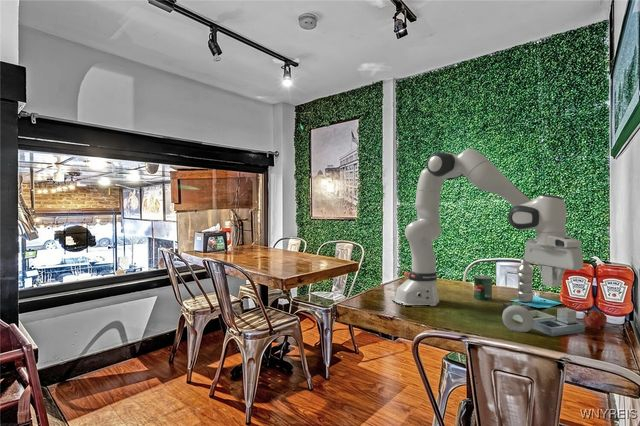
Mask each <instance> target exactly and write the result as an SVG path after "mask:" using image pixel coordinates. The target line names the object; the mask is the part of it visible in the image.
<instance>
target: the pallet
mask: <svg viewBox="0 0 640 426" xmlns="http://www.w3.org/2000/svg"><path fill="white" fill-rule="evenodd" d="M532 329H533V330H535V331H539V332H541V333H543V334H546V335H547V336H551V337H557V336H563V335H570V334H578V333H586V331H585V330H586V325H585V323H582V322H578V321H576V324H573V325H566V324H563V323H560V322H557V318H556V319H549V320H541V321H534V324H533V327H532Z"/></svg>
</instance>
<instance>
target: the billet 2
mask: <svg viewBox="0 0 640 426" xmlns="http://www.w3.org/2000/svg"><path fill="white" fill-rule="evenodd" d="M556 309H557V310H556V311H557V312H556V319H557V322H560V323H563V324H566V325H573V324H576V322H577V310H575V309H571V308H569V307H558V308H556Z"/></svg>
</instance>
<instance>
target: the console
mask: <svg viewBox="0 0 640 426" xmlns="http://www.w3.org/2000/svg"><path fill="white" fill-rule="evenodd" d="M513 302H514V301H512V302H511V301H510V302H504V303H502V311H504V310H505V309H506V308H507V307H509V306H512V303H513ZM515 302H516V303H520V304H521V306H522V307H524V308H526V309H527V310H528V311H531V306H530V305H528V304H523V303H521V302H518V301H515Z"/></svg>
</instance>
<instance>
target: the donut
mask: <svg viewBox="0 0 640 426" xmlns="http://www.w3.org/2000/svg"><path fill="white" fill-rule="evenodd" d="M502 311H503V310H502ZM514 315H520V316H521V317H522V318H523V322H519V323H518V322H515V320H514V319H512V317H513V316H514ZM501 317H502V323H503V324H504V326H505V327H506V328H507V329H508V330H510V331H511V332H518V333H528V332H529V331H531V330H532V329H533V324H534V320H533V319H534V317H533V316H532V314H531V313H530V312H529V311H528V310H527V309H526V308H524V307H522V306H519V305H512V306H509V307H507V308H506V309H505V310H504V311H503V312H502V316H501Z"/></svg>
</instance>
